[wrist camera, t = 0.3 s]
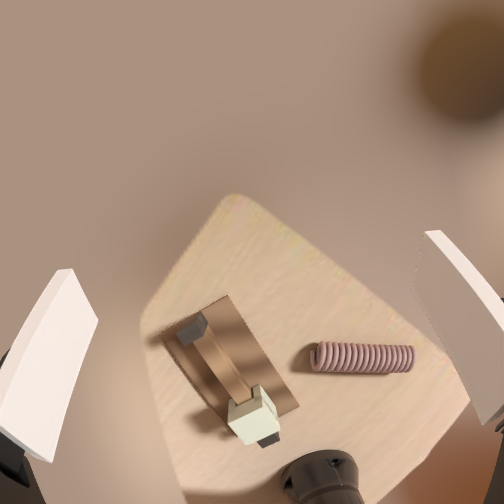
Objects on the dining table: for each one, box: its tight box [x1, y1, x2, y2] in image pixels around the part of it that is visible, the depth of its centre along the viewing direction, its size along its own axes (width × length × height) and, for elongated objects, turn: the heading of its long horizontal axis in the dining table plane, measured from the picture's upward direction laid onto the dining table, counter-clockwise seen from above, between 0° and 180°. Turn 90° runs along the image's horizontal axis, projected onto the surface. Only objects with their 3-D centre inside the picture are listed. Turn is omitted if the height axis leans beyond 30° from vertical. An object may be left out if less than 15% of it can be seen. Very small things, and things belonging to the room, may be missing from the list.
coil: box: [310, 341, 416, 373], centre depth 44 cm, size 5×5×18 cm
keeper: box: [228, 384, 280, 446], centre depth 41 cm, size 5×6×7 cm
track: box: [160, 295, 300, 448], centre depth 42 cm, size 22×12×7 cm, turn 31°
